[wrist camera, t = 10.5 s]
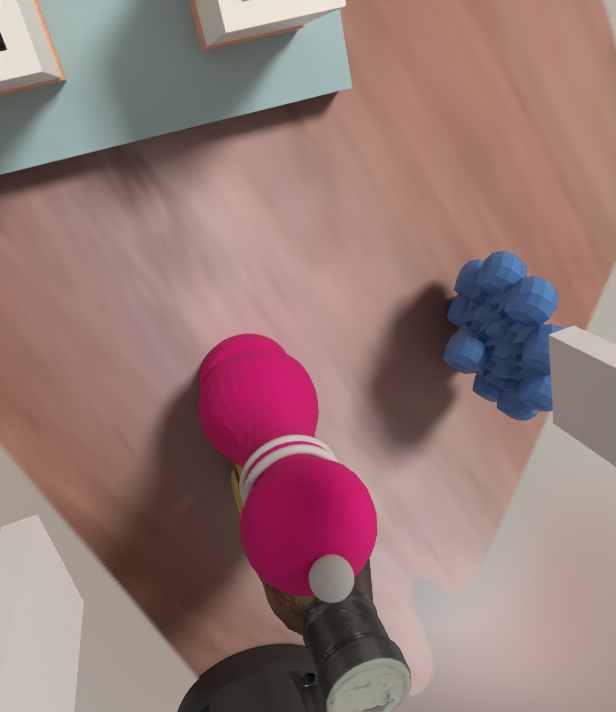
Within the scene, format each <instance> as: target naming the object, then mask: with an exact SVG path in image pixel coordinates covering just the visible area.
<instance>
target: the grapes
mask: <svg viewBox="0 0 616 712" xmlns="http://www.w3.org/2000/svg"><path fill="white" fill-rule="evenodd" d="M526 273H527V266H526V265H525V264H524V262H523V261H522V260H520V259H519V258H518V257H517V256H516V255H514V254H512V253H509V252H505V251H500V252H495V253H492V254H491V255H490V256H489V257H488V258H487V259H485V260H484V261H483V260H480V259H477V260H472V261H469V262H468V263H467V264H466V265H464V266H463V267H462V269H461V271H460V273H459V275H458V277H457V281H456V284H455V289H454V290H455V291H456V292H457V293H458V295H457V296H455V297H454V299H453V301H452V303H451V305H450V307H449V311H448V315H447V319H448V320H449V321H450V322H451V323H452V324H454V325H455V326H456V327H458V328H460V331H458V332H456V333H455V334H454V335H453V336H451V338H450V340H449V342H448V343H447V345H446V349H445V353H444V357H443V361H444V362H445V363H447V364H448V365H449V366H451V367H452V368H453V369H455V370H457V371H459V372H462V373H464V374H467V373H476V376H475V380H474V384H473V391H474V392H475V393H477V394H478V395H480V396H481V397H482V398H484V399H486V400H489V401H491V402H497V408H498V409H499V410H500V411H502V412H503V413H505V414H506V415H507V416H509V417H512V418H514V419H516V420H529V419H531V418H532V417H534V416H536V414H537V413H538V411H552V410H553V407H552V389H551V371H550V353H549V334H552V333H554V332H557V331H560V330H563V329H564V328H561V327H559V326H556V325H553V324H548V325H544V322H546V321H547V320H548V319H550V318H551V316H552V314H553V312H554V311H555V309H556V306H557V301H558V292H557V290H556V289H555V288H554V287H553V286H552V285H551V284H550V283H549V282H547V281H546V280H544V279H541V278H538V277H535V276H531V277H526Z"/></svg>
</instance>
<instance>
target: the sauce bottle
mask: <svg viewBox="0 0 616 712" xmlns="http://www.w3.org/2000/svg"><path fill="white" fill-rule="evenodd" d="M241 472H242V467H241V466H239V465H237V464H235V463H233V462H231V464H230V473H231V477H232V478H231V483H232V489H233V493H234V496H235V500H236V503H237V506H238V510H239V513H240V517H241V512H242V509H243V507H244V506H243V501H242V499H241V495H240V489H239V481H240V476H241ZM258 576H259V575H258ZM259 578H260V580H261V581H262V583H263V586H264V589H265V593H266V597H267V600H268V602H269V604H270V606H271V608H272V610H273V612H274V614H275V615H276V616H277V617H278V618H279V619H280V620H281V621H282V622H283V623H284V624H285V625H286V626H287V628H288V629H290V630H293V631H294V632H297V633H299V634H300V635H303V640H304V643H305V645H306V647H307V649H308V650H309V652H310V655H311V658H312V661H313V663H314V666H315V669H316V671H317V674H318V690H319V693H320V696H321V699H322V702H323V705H324V707H325V710H326V712H393V711H394V710H396V709H397V708H398V707H399V706H400V705H401V704H402V703H403V702H404V700H405V699H406V698H407V696H408V694H409V691H410V688H411V672H410V669H409V667H408V665H407V663H406V661H405V659H404V657H403V654H402V652H401V650H400V648H399V647H398V646H397V645H396V644H395V643H394V642H393V641H391V640H390V638H389V637H388V635H387V633H386V631H385V629H384V626H383V625H382V623H381V621H380V619H379V617H378V615H377V610H376V608H375V605H374V604H373V595H372V583H371V571H370V559H368V561H367V562H366V564H365V565H364V567H363V568H362V569H361V570H360V572H359V573H358V574H357V575H356V576H355V577H354V585H353V589H352V591H351V592H350V594H349V595H348V596H347V597H346V598H345V599H343V600H342V601H340V602H335V603H329V602H324V601H322V600H320V599H319V598H318V597H316V596H310V597H306V596H294V595H291V594H288V593H284V592H282V591H280V590H278V589H276V588H274V587H272V586H271V585H269V584H268V583H267V582H265V581H264V580H263V579H262V578H261V577H260V576H259Z"/></svg>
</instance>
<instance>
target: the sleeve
mask: <svg viewBox="0 0 616 712" xmlns="http://www.w3.org/2000/svg"><path fill="white" fill-rule="evenodd" d="M189 4H190V8H191V12H192V16H193V20H194V23H195V27H196V31H197V35H198V39H199V43H200V47H201V50H202V52H203V51H207V50H212V49H216V48H221V47H225V46H229V45H234V44H238V43H243V42H247V41H251V40H256V39H260V38H265V37H269V36H273V35H278V34H282V33H287V32H291V31H295V30H299V29H302V28H304V27H306V24H307V23H309V22H311V21H313V20H316V19H318V18H320V17H322V16H325V15H327V14H329V13H331V12H334V11H336V10H338V9H340V8H343V7H345V6H346V3H345V0H248V1H243V2H242V0H189Z"/></svg>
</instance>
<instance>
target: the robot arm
mask: <svg viewBox="0 0 616 712" xmlns="http://www.w3.org/2000/svg"><path fill="white" fill-rule="evenodd" d="M549 353H550V371H551V389H552V407H553V423H554V424H555V425H557V426H558V427H560V428H561V429H563V430H564V431H565V432H567V433H568V434H570V435H571V436H573V437H574V438H575V439H577V440H578V441H580V442H581V443H582V444H584V445H586V446H587V447H588V448H590V449H591V450H592V451H594V452H595V453H597V454H598V455H600V456H601V457H603V458H604V459H606V460H607V461H608V462H610V463H611V464H613V465H614V466H615V467H616V344H614V343H611V342H609V341H607V340H605V339H602V338H600V337H598V336H596V335H593V334H591V333H589V332H587V331H585V330H582V329H580V328H578V327H576V326H572V327H569V328H566V329H563V330H560V331H557V332H554V333H552V334H549ZM83 608H84V601H83V599H82V598H81V596H80V594H79V592H78V590H77V588H76V586H75V585H74V583H73V581H72V579H71V577H70V575H69V573H68V571H67V569H66V568H65V566H64V564H63V562H62V560H61V558H60V556H59V554H58V552H57V550H56V549H55V547H54V545H53V543H52V541H51V539H50V538H49V535H48V534H47V532H46V530H45V528H44V526H43V524H42V522H41V520H40V519H39V517H38V515H34V516H31V517H28V518H25V519H23V520H20V521H17V522H14V523H11V524H9V525H6V526H3V527H2V529H1V532H0V712H74V709H75V698H76V686H77V676H78V663H79V653H80V641H81V631H82V619H83ZM178 712H326V710H325V707H324V705H323V702H322V699H321V696H320V693H319V690H318V674H317V671H316V669H315V666H314V663H313V661H312V658H311V655H310V652H309V650H308V649H307V647H306V646H303V645H296V644H274V645H266V646H261V647H257V648H253V649H250V650H247V651H244V652H241V653H239V654H236V655H234V656H232V657H230V658H228V659H226V660H224V661H222V662H221V663H219V664H217V665H216V666H214V667H213V668H211V669H210V670H209V671H208V672H206V673H205V674H204V675H203V676H202V677H200V678H199V679H198V680H197V681H196V682H195V683H194V685H193V686H192V687H191V688H190V689H189V691H188V692H187V694H186V695H185V697H184V698H183V700H182V702H181V704H180V706H179V709H178Z"/></svg>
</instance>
